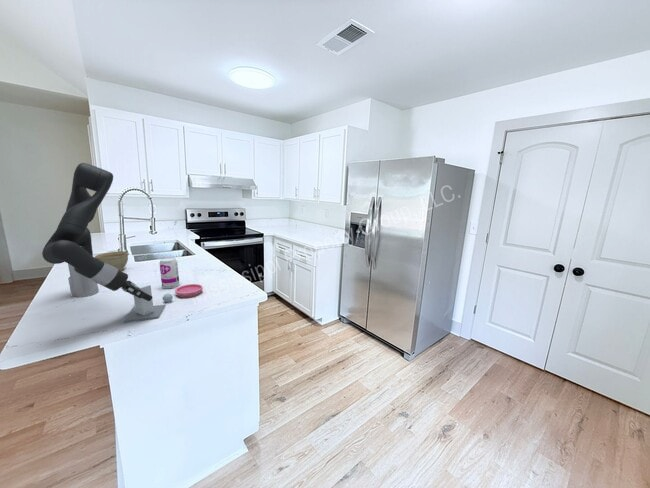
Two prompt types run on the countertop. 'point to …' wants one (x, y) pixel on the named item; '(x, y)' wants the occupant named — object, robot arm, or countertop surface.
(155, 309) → the slate coaster
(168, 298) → the grey ball
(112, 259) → the planter bowl
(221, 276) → the countertop surface
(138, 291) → the robot arm
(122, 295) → the countertop surface
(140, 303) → the skincare box
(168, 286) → the supplement can
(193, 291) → the saucer
